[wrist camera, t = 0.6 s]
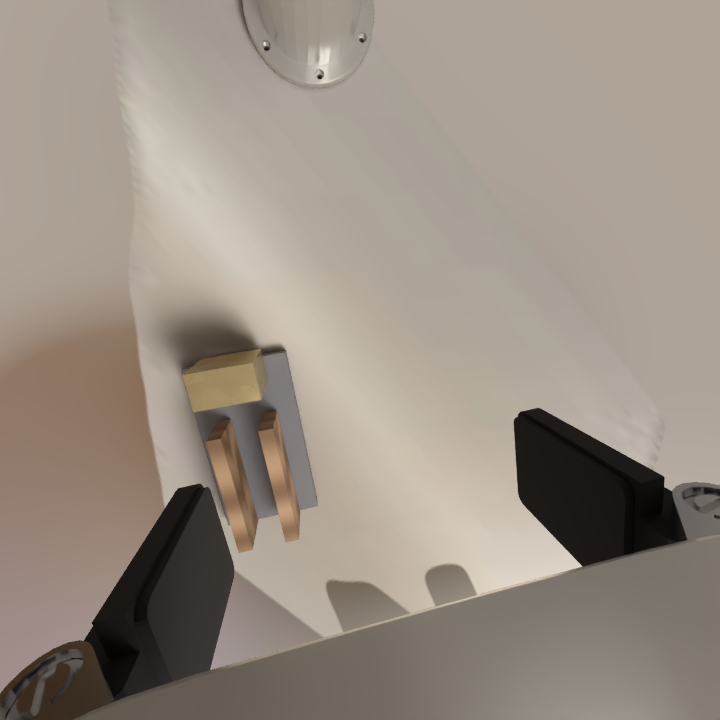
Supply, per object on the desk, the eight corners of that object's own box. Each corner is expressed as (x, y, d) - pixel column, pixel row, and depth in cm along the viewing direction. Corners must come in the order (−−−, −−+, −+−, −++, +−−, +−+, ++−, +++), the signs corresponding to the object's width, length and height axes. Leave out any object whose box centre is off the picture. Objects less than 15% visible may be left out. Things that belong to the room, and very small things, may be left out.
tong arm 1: (263, 413, 42) (258, 431, 37) (276, 410, 42) (272, 428, 38) (288, 513, 46) (285, 542, 42) (299, 511, 47) (298, 539, 42)
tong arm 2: (217, 421, 42) (205, 441, 37) (230, 419, 42) (220, 438, 37) (246, 523, 46) (238, 552, 41) (258, 520, 46) (252, 549, 41)
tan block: (201, 358, 40) (182, 375, 33) (260, 348, 40) (252, 362, 34) (210, 390, 41) (193, 412, 35) (268, 380, 41) (261, 399, 35)
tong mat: (185, 367, 41) (181, 370, 40) (285, 350, 42) (285, 352, 41) (230, 519, 47) (228, 525, 46) (317, 500, 48) (317, 506, 47)
